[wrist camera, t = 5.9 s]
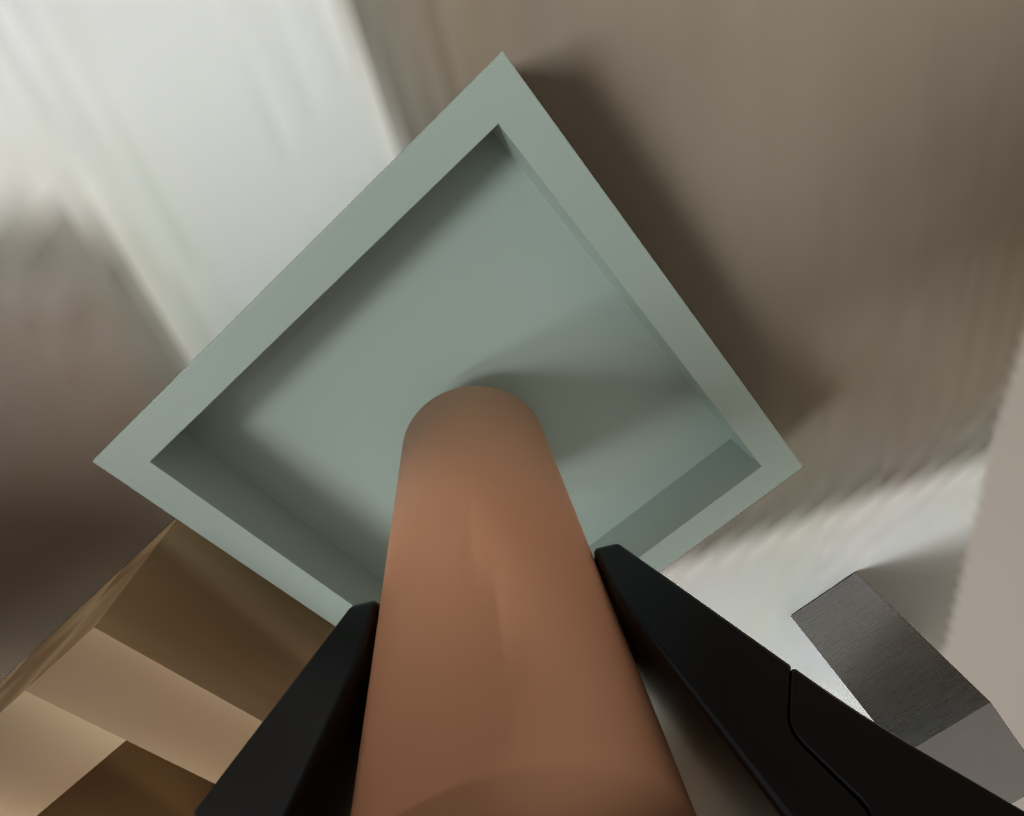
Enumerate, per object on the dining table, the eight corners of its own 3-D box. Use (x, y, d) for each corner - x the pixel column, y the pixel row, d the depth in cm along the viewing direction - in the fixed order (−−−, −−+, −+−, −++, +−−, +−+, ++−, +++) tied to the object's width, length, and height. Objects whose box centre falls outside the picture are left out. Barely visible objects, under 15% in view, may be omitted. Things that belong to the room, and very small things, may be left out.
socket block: (236, 816, 20) (189, 962, 16) (-16, 696, 16) (-148, 847, 13) (417, 677, 18) (411, 805, 14) (179, 515, 15) (93, 627, 11)
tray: (461, 653, 18) (464, 714, 16) (143, 418, 14) (92, 461, 12) (757, 429, 16) (802, 466, 14) (491, 72, 12) (502, 51, 10)
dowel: (555, 496, 14) (712, 937, 6) (423, 526, 14) (398, 1017, 6) (532, 371, 13) (696, 725, 5) (384, 404, 13) (281, 827, 4)
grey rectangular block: (851, 685, 21) (966, 828, 16) (790, 616, 19) (901, 755, 14) (911, 647, 20) (1047, 783, 16) (855, 572, 19) (990, 702, 14)
